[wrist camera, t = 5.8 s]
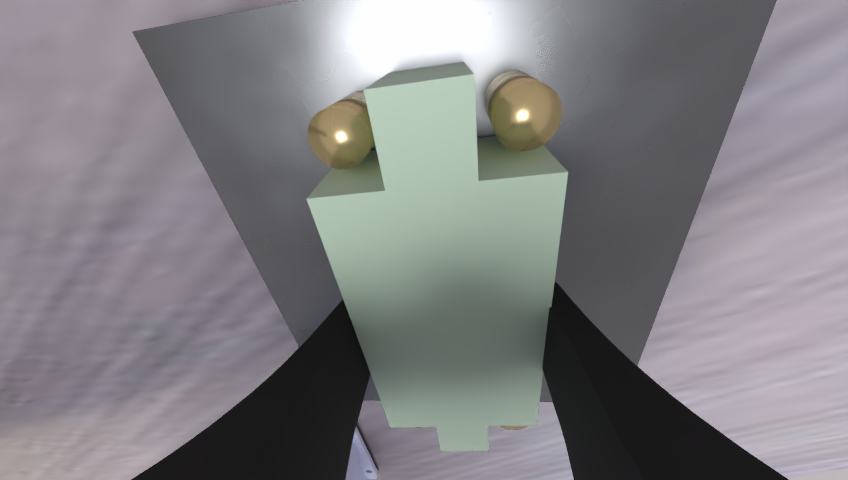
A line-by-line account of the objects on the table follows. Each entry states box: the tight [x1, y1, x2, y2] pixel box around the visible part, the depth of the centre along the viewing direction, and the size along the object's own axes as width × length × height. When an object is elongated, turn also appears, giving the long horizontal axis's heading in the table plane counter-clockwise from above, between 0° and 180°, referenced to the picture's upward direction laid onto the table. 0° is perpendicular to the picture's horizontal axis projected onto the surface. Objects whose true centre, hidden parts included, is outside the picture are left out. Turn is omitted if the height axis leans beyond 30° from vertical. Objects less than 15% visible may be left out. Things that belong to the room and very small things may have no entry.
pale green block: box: [307, 62, 568, 451], centre depth 11 cm, size 14×6×3 cm, turn 8°
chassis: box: [133, 0, 777, 430], centre depth 12 cm, size 18×16×4 cm
